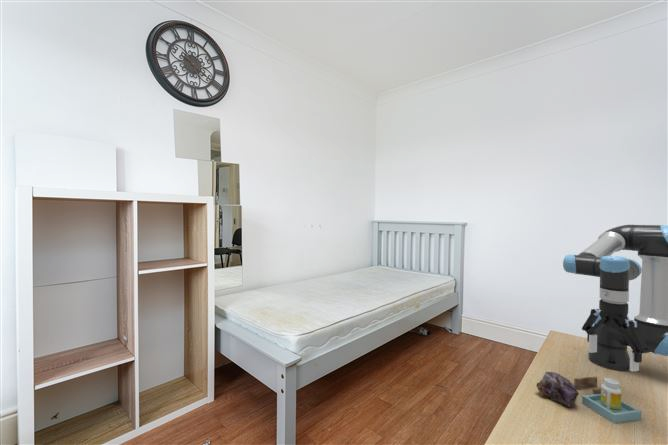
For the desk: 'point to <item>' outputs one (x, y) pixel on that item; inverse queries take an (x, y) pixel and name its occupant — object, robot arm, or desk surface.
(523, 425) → the desk surface
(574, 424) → the desk surface
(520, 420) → the desk surface
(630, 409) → the tray
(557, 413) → the desk surface
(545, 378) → the rock
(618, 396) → the supplement bottle
